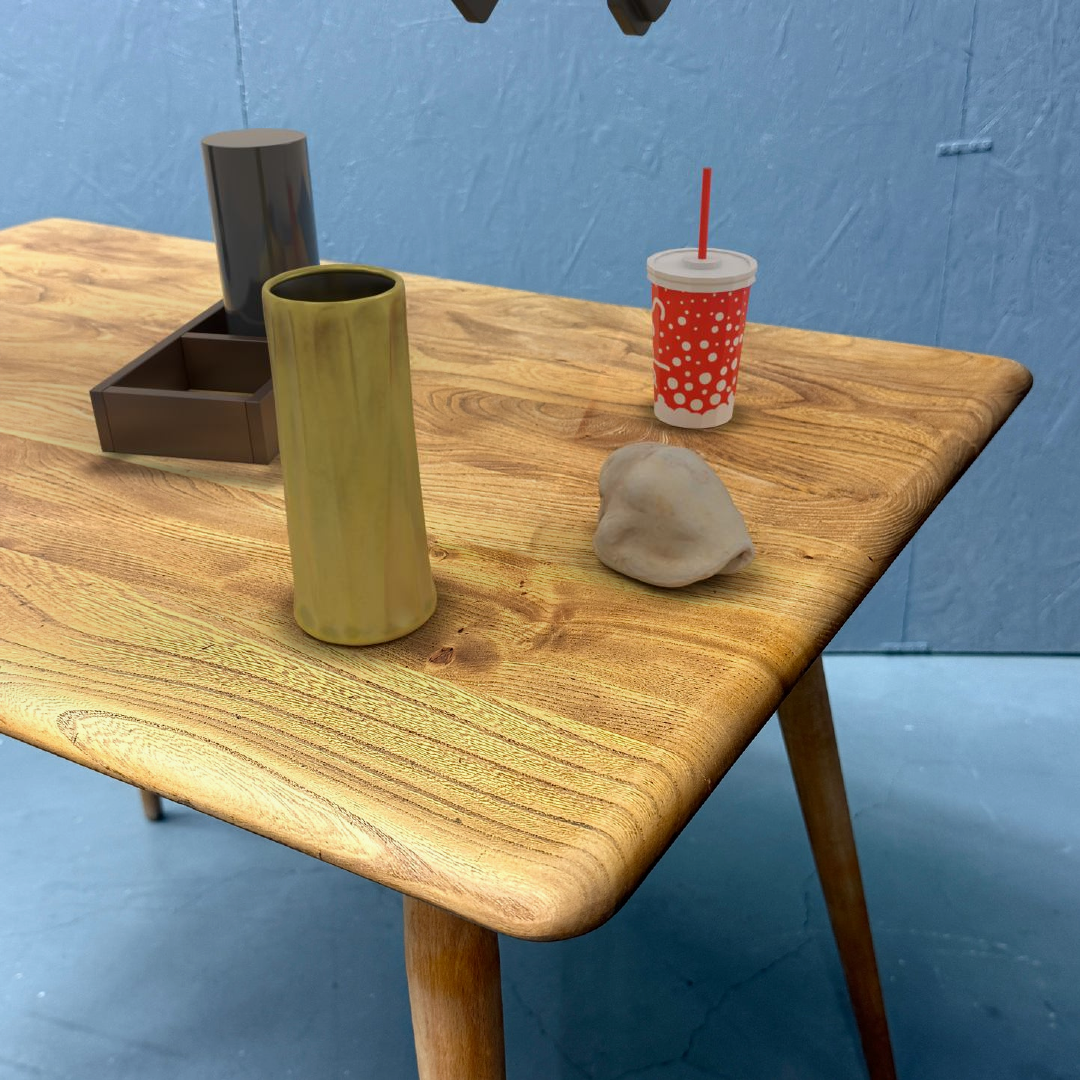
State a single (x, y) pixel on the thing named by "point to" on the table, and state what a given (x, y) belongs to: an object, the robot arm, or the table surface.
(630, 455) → the stone
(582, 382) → the table surface
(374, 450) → the vase
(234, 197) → the dark grey cylinder
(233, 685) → the table surface
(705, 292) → the beverage cup
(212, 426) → the rack
